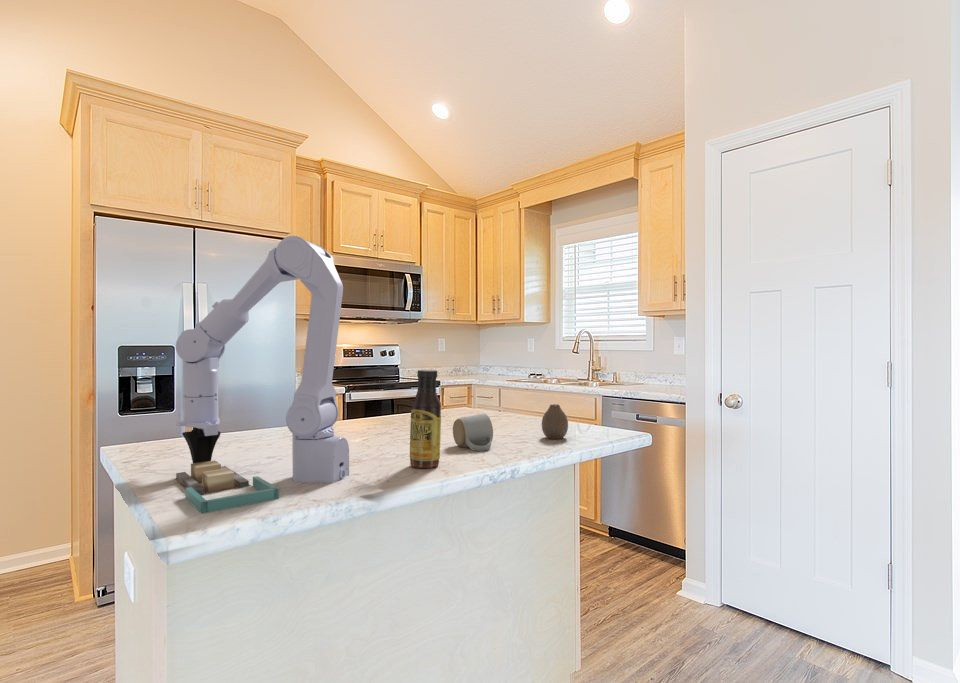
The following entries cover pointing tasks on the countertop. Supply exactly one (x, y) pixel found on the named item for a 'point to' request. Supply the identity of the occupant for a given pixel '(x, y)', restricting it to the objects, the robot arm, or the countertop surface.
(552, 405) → the vase
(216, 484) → the tan wooden block
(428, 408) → the sauce bottle
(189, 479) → the slot track
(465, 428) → the ceramic mug
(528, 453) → the countertop surface
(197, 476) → the chip
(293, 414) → the robot arm
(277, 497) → the teal u-shaped rail
